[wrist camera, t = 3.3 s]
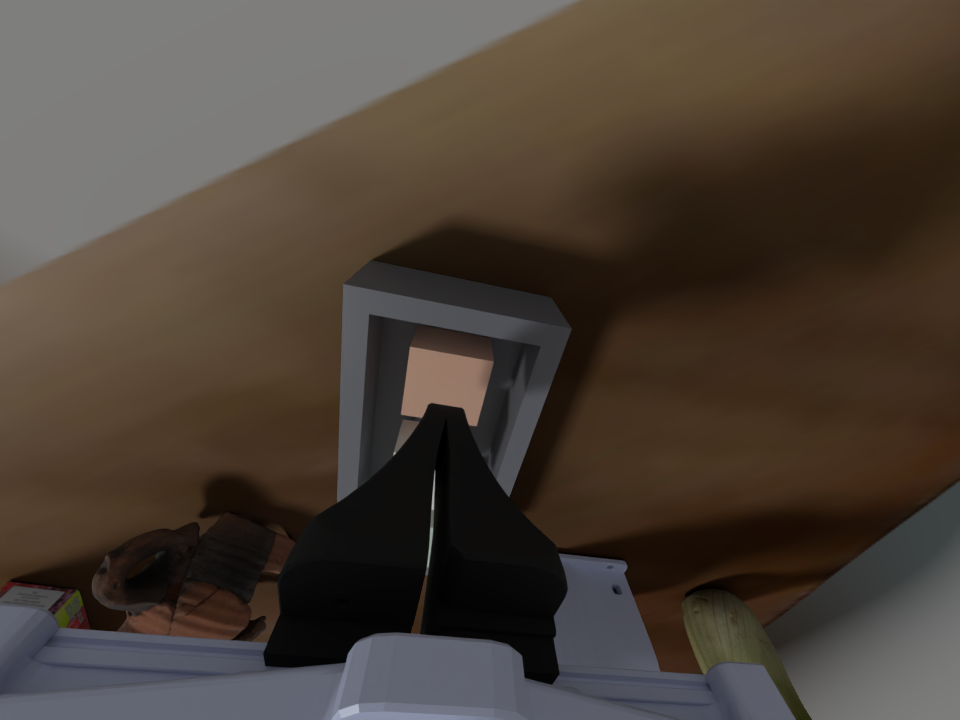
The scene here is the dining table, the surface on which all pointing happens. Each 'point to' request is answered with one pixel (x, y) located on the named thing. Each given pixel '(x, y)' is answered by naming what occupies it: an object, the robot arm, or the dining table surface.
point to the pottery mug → (192, 579)
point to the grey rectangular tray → (385, 351)
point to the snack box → (49, 602)
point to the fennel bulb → (734, 639)
